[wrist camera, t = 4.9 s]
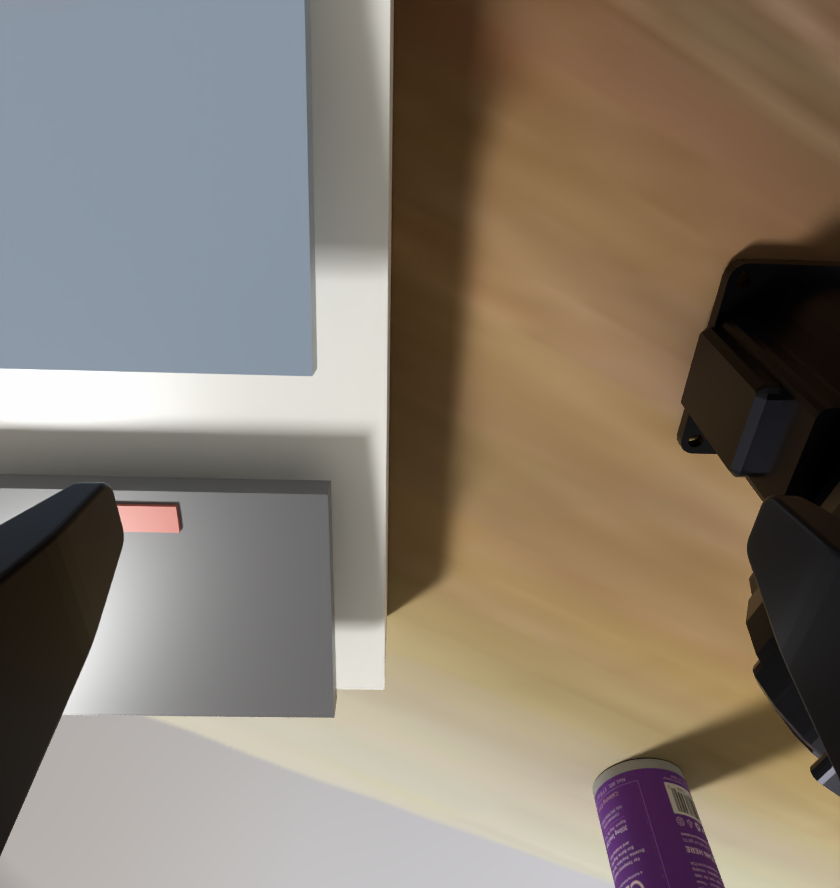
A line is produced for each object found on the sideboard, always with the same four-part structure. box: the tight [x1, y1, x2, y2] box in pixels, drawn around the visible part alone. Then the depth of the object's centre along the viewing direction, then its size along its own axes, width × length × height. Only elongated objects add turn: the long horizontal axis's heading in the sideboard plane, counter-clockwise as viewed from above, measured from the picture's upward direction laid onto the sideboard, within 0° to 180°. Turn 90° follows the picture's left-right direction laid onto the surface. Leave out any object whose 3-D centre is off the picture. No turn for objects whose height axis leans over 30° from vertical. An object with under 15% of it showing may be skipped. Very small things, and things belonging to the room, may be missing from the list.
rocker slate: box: [0, 0, 317, 376], centre depth 13 cm, size 11×8×2 cm
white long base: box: [0, 0, 394, 690], centre depth 19 cm, size 14×25×4 cm, turn 178°
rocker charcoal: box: [0, 474, 337, 718], centre depth 20 cm, size 11×8×2 cm
